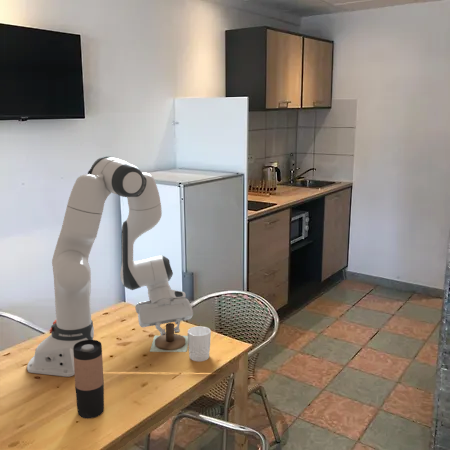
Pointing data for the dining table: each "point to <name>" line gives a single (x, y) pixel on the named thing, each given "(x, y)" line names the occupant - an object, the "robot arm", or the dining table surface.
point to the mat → (155, 349)
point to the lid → (170, 339)
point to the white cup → (199, 343)
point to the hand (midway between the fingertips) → (170, 333)
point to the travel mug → (89, 378)
